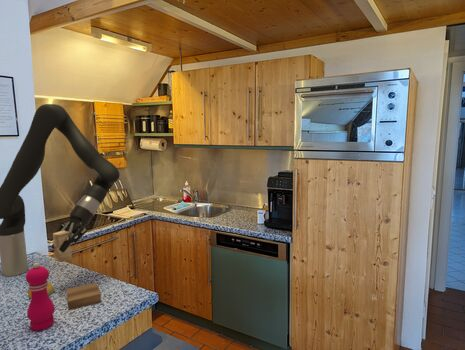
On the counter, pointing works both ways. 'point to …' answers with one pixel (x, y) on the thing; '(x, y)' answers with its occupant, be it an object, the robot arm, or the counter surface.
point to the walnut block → (83, 295)
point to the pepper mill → (39, 298)
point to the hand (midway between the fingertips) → (57, 249)
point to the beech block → (58, 241)
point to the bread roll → (49, 289)
